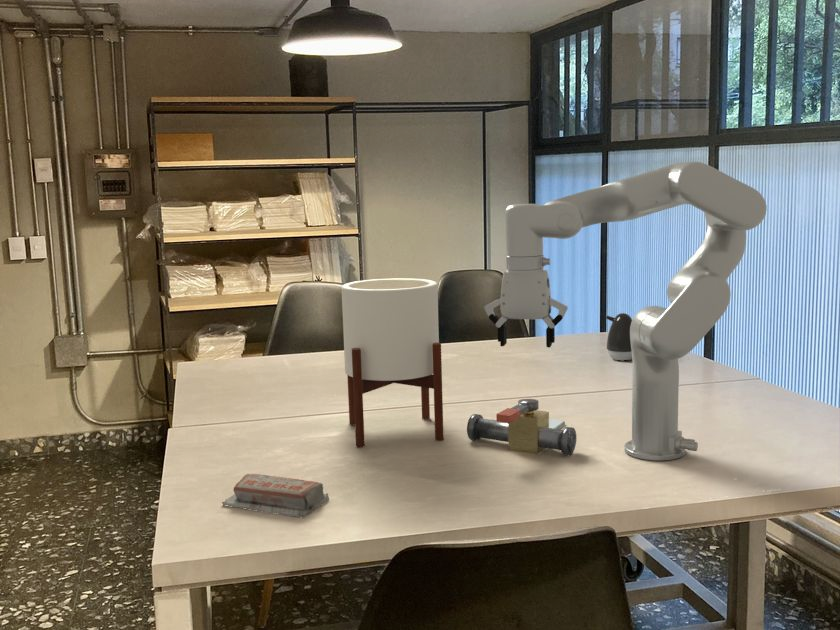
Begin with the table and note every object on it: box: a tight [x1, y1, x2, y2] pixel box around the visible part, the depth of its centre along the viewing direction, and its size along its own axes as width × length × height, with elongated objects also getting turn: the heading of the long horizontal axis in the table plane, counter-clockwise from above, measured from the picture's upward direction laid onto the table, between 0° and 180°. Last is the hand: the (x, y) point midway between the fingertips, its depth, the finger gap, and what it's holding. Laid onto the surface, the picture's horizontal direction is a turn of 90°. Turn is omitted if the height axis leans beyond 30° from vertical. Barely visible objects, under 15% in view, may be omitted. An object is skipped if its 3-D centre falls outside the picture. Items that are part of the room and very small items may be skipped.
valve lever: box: [495, 398, 540, 423], centre depth 183 cm, size 14×4×2 cm, turn 147°
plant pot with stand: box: [340, 277, 444, 448], centre depth 202 cm, size 22×22×36 cm
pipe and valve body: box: [466, 409, 577, 456], centre depth 189 cm, size 24×6×9 cm, turn 57°
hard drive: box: [549, 418, 566, 430], centre depth 203 cm, size 2×8×12 cm
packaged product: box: [221, 473, 330, 519], centre depth 161 cm, size 18×5×10 cm
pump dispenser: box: [605, 312, 633, 362], centre depth 275 cm, size 10×10×15 cm
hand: (526, 345), depth 178 cm, fingers open, 9 cm apart
